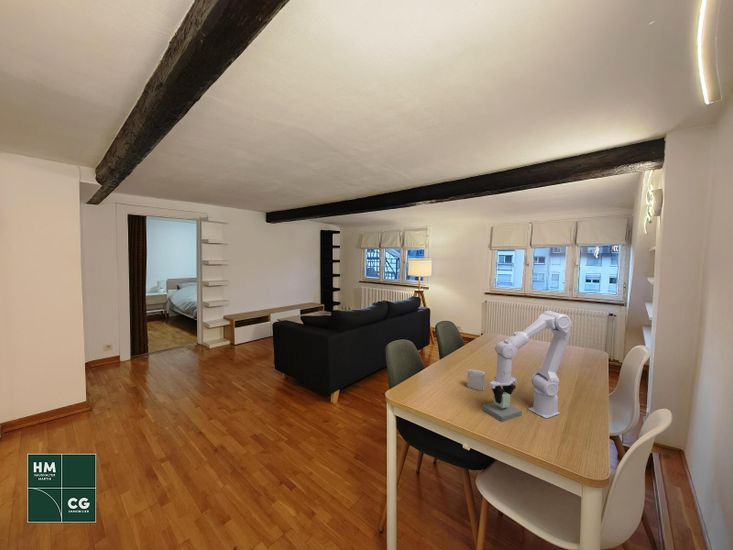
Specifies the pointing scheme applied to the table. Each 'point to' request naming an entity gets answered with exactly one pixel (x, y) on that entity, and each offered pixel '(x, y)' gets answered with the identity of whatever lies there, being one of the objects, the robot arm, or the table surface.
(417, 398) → the table surface
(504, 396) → the sage cube
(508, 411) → the slate plinth
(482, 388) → the medicine box
